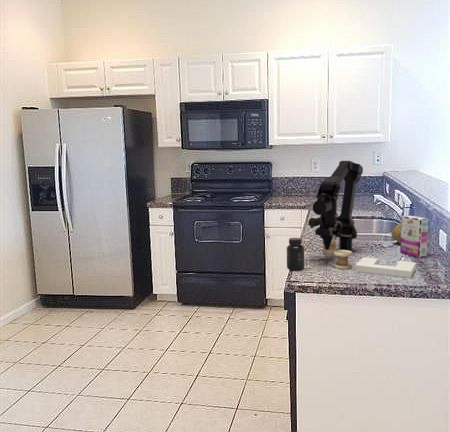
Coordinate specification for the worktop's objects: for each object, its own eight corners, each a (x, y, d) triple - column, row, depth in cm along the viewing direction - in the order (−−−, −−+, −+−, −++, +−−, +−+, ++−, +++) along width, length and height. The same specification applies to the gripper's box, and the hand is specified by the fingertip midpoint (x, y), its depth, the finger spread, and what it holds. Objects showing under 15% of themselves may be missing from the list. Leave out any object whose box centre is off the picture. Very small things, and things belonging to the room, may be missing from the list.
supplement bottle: (302, 265, 193) (302, 236, 191) (305, 270, 186) (305, 240, 184) (285, 266, 193) (285, 237, 190) (288, 271, 186) (288, 241, 184)
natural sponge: (388, 244, 224) (389, 223, 223) (395, 241, 231) (396, 220, 229) (407, 247, 219) (408, 225, 217) (414, 243, 225) (415, 222, 224)
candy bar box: (428, 256, 202) (429, 218, 199) (418, 258, 200) (420, 219, 197) (408, 251, 212) (409, 214, 209) (399, 252, 210) (400, 215, 207)
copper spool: (324, 252, 204) (325, 233, 202) (336, 253, 201) (337, 234, 200) (320, 255, 199) (321, 236, 198) (333, 256, 197) (333, 237, 195)
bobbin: (336, 263, 195) (336, 249, 194) (353, 265, 191) (354, 250, 190) (331, 267, 189) (331, 253, 188) (349, 270, 185) (349, 254, 184)
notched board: (363, 263, 194) (363, 257, 194) (415, 268, 185) (416, 262, 184) (354, 271, 183) (355, 265, 183) (410, 278, 174) (410, 271, 173)
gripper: (317, 207, 209) (317, 241, 212) (303, 213, 193) (302, 251, 196) (343, 208, 204) (342, 244, 206) (330, 215, 188) (329, 254, 190)
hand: (329, 248), depth 200 cm, fingers closed on copper spool, 5 cm apart
